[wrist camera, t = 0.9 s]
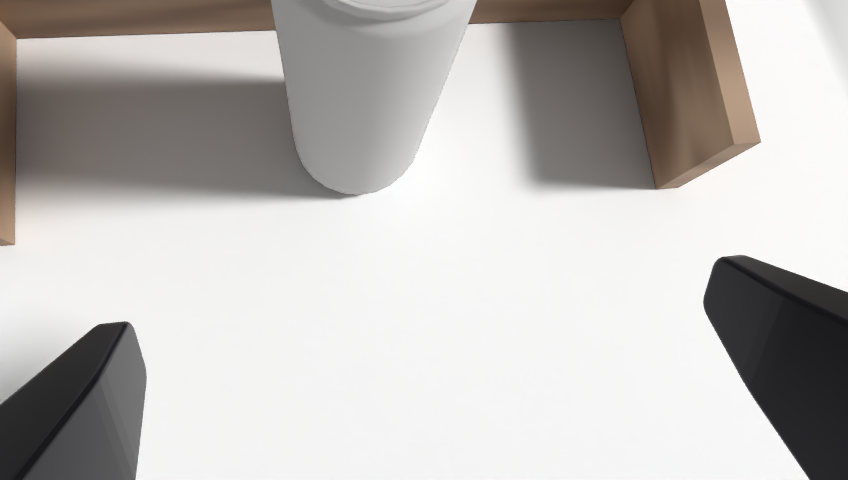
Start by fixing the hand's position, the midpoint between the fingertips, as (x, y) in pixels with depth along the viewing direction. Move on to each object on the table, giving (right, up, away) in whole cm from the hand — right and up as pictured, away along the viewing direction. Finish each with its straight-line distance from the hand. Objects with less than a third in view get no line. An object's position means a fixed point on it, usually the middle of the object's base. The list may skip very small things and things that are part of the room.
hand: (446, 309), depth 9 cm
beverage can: (-3, +5, +15) cm, 16 cm away
